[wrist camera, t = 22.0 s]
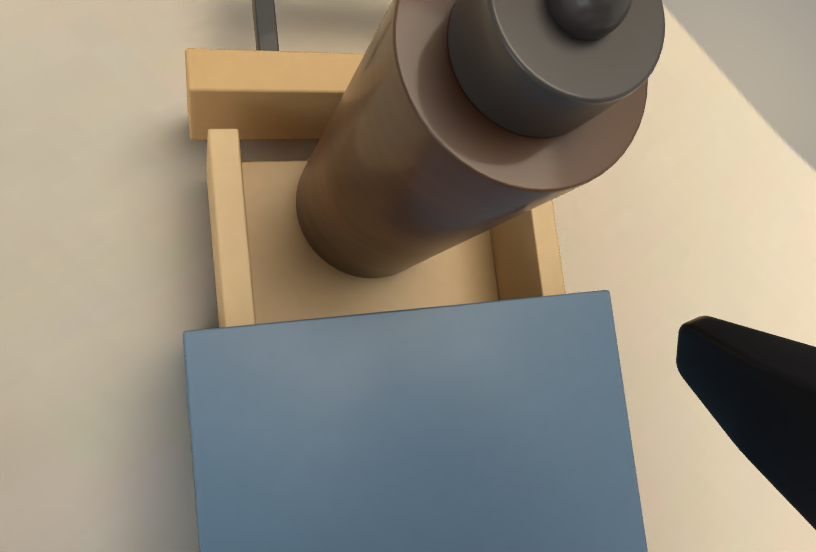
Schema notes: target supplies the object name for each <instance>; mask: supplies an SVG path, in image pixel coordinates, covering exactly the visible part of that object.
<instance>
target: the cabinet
mask: <svg viewBox="0 0 816 552" xmlns="http://www.w3.org/2000/svg"><path fill="white" fill-rule="evenodd" d="M183 344H184V357H185V370H186V383H187V395H188V408H189V421H190V434H191V446H192V459H193V472H194V485H195V498H196V510H197V523H198V536H199V549H200V552H648V551H647V544H646V537H645V530H644V523H643V517H642V510H641V503H640V496H639V489H638V483H637V476H636V469H635V462H634V455H633V448H632V442H631V435H630V428H629V421H628V414H627V408H626V401H625V394H624V387H623V380H622V374H621V367H620V360H619V353H618V346H617V339H616V333H615V326H614V319H613V312H612V305H611V299H610V292H609V290H601V291H591V292H581V293H571V294H560V295H550V296H540V297H529V298H519V299H509V300H499V301H488V302H478V303H468V304H457V305H447V306H437V307H426V308H416V309H406V310H396V311H385V312H375V313H365V314H354V315H344V316H334V317H324V318H313V319H303V320H293V321H282V322H272V323H262V324H251V325H241V326H231V327H221V328H210V329H200V330H190V331H184V332H183Z"/></svg>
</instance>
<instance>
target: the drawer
mask: <svg viewBox="0 0 816 552" xmlns="http://www.w3.org/2000/svg"><path fill="white" fill-rule="evenodd" d="M252 7H253V18H254V29H255V39H256V50H226V49H195V48H188V49H186V51H185V59H186V84H187V107H188V119H189V131H190V138H191V139H192V140H207V161H206V176H207V188H208V200H209V211H210V223H211V235H212V247H213V259H214V271H215V283H216V295H217V307H218V318H219V328H221V327H231V326H241V325H251V324H262V323H272V322H282V321H293V320H303V319H313V318H324V317H334V316H344V315H354V314H365V313H375V312H385V311H396V310H406V309H416V308H426V307H437V306H447V305H457V304H468V303H478V302H488V301H499V300H509V299H519V298H529V297H540V296H550V295H560V294H565V288H564V281H563V273H562V266H561V259H560V252H559V245H558V238H557V230H556V223H555V216H554V209H553V202H552V200H550V201H548V202H546V203H544V204H542V205H540V206H538V207H536V208H533V209H531V210H529V211H527V212H525V213H523V214H521V215H519V216H517V217H515V218H513V219H510V220H508V221H506V222H504V223H502V224H500V225H498V226H496V227H494V228H492V229H490V230H487V231H485V232H483V233H481V234H479V235H477V236H475V237H473V238H471V239H469V240H466V241H464V242H462V243H460V244H458V245H456V246H454V247H452V248H450V249H448V250H446V251H443V252H441V253H439V254H437V255H435V256H433V257H431V258H429V259H427V260H425V261H423V262H420V263H418V264H416V265H414V266H412V267H410V268H408V269H406V270H404V271H402V272H399V273H397V274H394V275H391V276H387V277H381V278H362V277H356V276H353V275H349V274H346V273H344V272H342V271H339V270H337V269H336V268H334V267H332V266H331V265H329V264H328V263H327V262H325V261H324V260H323V259H322V258H321V257H320V256H319V255H318V254H317V253H316V252H315V251H314V250H313V249H312V247H311V246H310V245H309V243H308V242H307V240H306V238H305V236H304V235H303V232H302V230H301V227H300V225H299V221H298V217H297V211H296V192H297V186H298V183H299V179H300V176H301V174H302V172H303V170H304V168H305V166H306V164H307V162H308V160H304V161H256V162H242V161H241V150H240V139H314V138H320V137H321V136H322V134H323V132H324V130H325V128H326V126H327V124H328V122H329V120H330V119H331V117H332V115H333V113H334V111H335V109H336V107H337V105H338V103H339V102H340V100H341V98H342V96H343V94H344V92H345V90H346V88H347V86H348V85H349V83H350V81H351V79H352V77H353V75H354V73H355V71H356V69H357V68H358V66H359V64H360V62H361V60H362V58H363V56H364V54H353V53H322V52H290V51H279V45H278V35H277V25H276V15H275V5H274V0H252Z"/></svg>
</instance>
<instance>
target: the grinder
mask: <svg viewBox="0 0 816 552" xmlns="http://www.w3.org/2000/svg"><path fill="white" fill-rule="evenodd" d="M664 35H665V18H664V10H663V4H662V0H393V1H392V3H391V5H390V7H389V9H388V11H387V13H386V15H385V17H384V18H383V20H382V22H381V24H380V26H379V28H378V30H377V32H376V34H375V35H374V37H373V39H372V41H371V43H370V45H369V47H368V49H367V51H366V52H365V54H364V56H363V58H362V60H361V62H360V64H359V66H358V68H357V69H356V71H355V73H354V75H353V77H352V79H351V81H350V83H349V85H348V86H347V88H346V90H345V92H344V94H343V96H342V98H341V100H340V102H339V103H338V105H337V107H336V109H335V111H334V113H333V115H332V117H331V119H330V120H329V122H328V124H327V126H326V128H325V130H324V132H323V134H322V136H321V137H320V139H319V141H318V143H317V145H316V147H315V149H314V151H313V153H312V155H311V156H310V158H309V160H308V162H307V164H306V166H305V168H304V170H303V172H302V174H301V176H300V179H299V183H298V186H297V192H296V211H297V217H298V221H299V225H300V227H301V230H302V232H303V235H304V236H305V238H306V240H307V242H308V243H309V245H310V246H311V247H312V249H313V250H314V251H315V252H316V253H317V254H318V255H319V256H320V257H321V258H322V259H323V260H324V261H325V262H327V263H328V264H329V265H331V266H332V267H334V268H336V269H337V270H339V271H342V272H344V273H346V274H349V275H353V276H356V277H362V278H381V277H387V276H391V275H394V274H397V273H399V272H402V271H404V270H406V269H408V268H410V267H412V266H414V265H416V264H418V263H420V262H423V261H425V260H427V259H429V258H431V257H433V256H435V255H437V254H439V253H441V252H443V251H446V250H448V249H450V248H452V247H454V246H456V245H458V244H460V243H462V242H464V241H466V240H469V239H471V238H473V237H475V236H477V235H479V234H481V233H483V232H485V231H487V230H490V229H492V228H494V227H496V226H498V225H500V224H502V223H504V222H506V221H508V220H510V219H513V218H515V217H517V216H519V215H521V214H523V213H525V212H527V211H529V210H531V209H533V208H536V207H538V206H540V205H542V204H544V203H546V202H548V201H550V200H552V199H554V198H557V197H559V196H561V195H563V194H565V193H567V192H569V191H571V190H573V189H575V188H577V187H580V186H582V185H584V184H586V183H588V182H590V181H591V180H593V179H595V178H597V177H598V176H600V175H602V174H603V173H604V172H605V171H607V170H608V169H609V168H610V167H612V166H613V165H614V164H615V163H616V162H617V161H618V160H619V158H620V157H621V156H622V155H623V154H624V153H625V151H626V150H627V148H628V147H629V145H630V144H631V142H632V140H633V138H634V136H635V134H636V132H637V130H638V128H639V126H640V123H641V119H642V116H643V113H644V109H645V103H646V98H647V85H648V77H649V76H650V75H651V73H652V72H653V70H654V68H655V66H656V64H657V62H658V60H659V57H660V54H661V51H662V48H663V42H664Z"/></svg>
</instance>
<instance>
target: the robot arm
mask: <svg viewBox="0 0 816 552" xmlns="http://www.w3.org/2000/svg"><path fill="white" fill-rule="evenodd" d="M676 364H677V368H678V371H679V373H680V374H681V376H682V377H683V379H684V380H685V381H686V383H687V384H688V385H689V386H690V388H691V389H692V390H693V392H694V393H695V394H696V395H697V397H698V398H699V399H700V400H701V402H702V403H703V404H704V406H705V407H706V408H707V409H708V411H709V412H710V413H711V414H712V416H713V417H714V418H715V420H716V421H717V422H718V423H719V425H720V426H721V427H722V429H723V430H724V431H725V432H726V434H727V435H728V436H729V437H730V439H731V440H732V441H733V442H734V444H735V445H736V446H737V447H738V448H739V450H740V451H741V452H742V453H743V454H744V455H745V456H746V457H747V458H748V460H749V461H750V462H751V463H752V464H753V465H754V466H755V467H756V468H757V469H758V470H759V471H760V472H761V473H762V474H763V475H764V476H765V477H766V479H767V480H768V481H769V482H770V483H771V484H772V485H773V486H774V487H775V488H776V489H777V490H778V491H779V492H780V493H781V494H782V495H783V496H784V497H785V498H786V499H787V500H788V501H789V503H790V504H791V505H792V506H793V507H794V508H795V509H796V510H797V511H798V512H799V513H800V514H801V515H802V516H803V517H804V518H805V519H806V520H807V521H808V522H809V523H810V524H811V525H812V527H813V528H814V529H815V530H816V347H814V346H810V345H807V344H804V343H800V342H797V341H793V340H790V339H786V338H783V337H779V336H776V335H772V334H769V333H765V332H762V331H759V330H755V329H752V328H748V327H745V326H741V325H738V324H734V323H731V322H727V321H724V320H721V319H717V318H714V317H710V316H700V317H697V318H695V319H693V320H691V321H688V322H686V323H684V324H683V325H682V326H681V327H680V329H679V334H678V345H677V356H676Z"/></svg>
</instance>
